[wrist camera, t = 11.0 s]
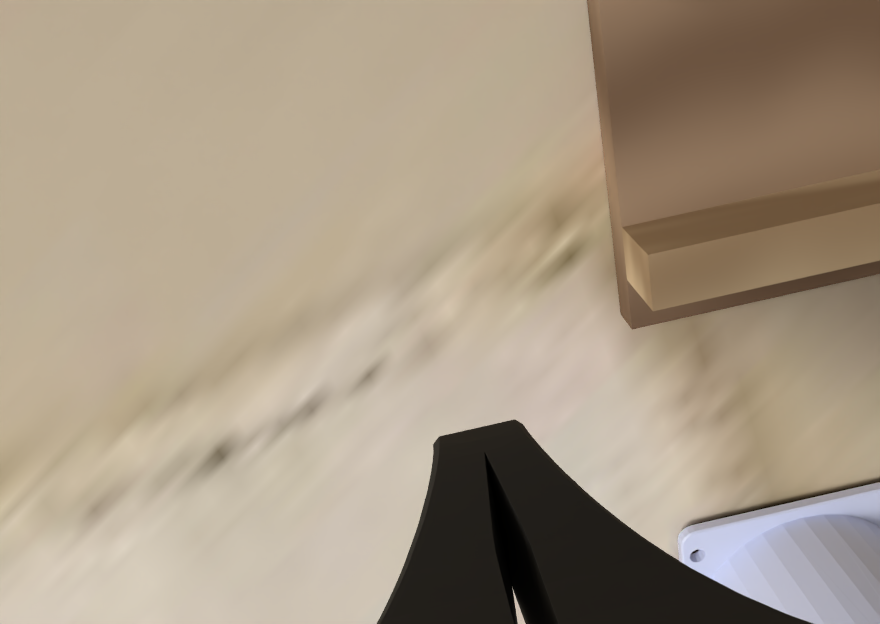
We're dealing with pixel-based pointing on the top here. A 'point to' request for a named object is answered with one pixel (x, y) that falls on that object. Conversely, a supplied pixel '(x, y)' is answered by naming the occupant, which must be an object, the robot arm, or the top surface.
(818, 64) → the chute
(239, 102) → the top surface
